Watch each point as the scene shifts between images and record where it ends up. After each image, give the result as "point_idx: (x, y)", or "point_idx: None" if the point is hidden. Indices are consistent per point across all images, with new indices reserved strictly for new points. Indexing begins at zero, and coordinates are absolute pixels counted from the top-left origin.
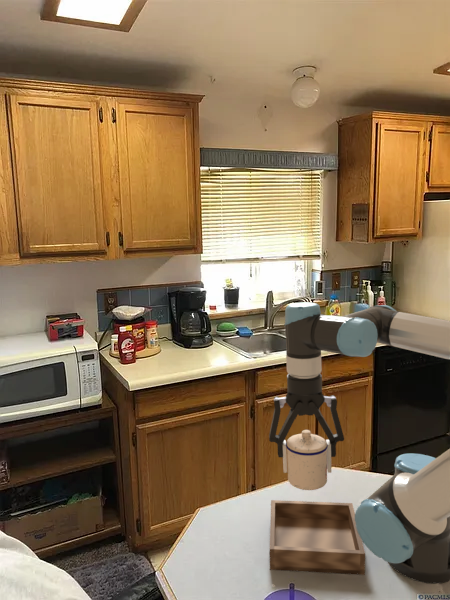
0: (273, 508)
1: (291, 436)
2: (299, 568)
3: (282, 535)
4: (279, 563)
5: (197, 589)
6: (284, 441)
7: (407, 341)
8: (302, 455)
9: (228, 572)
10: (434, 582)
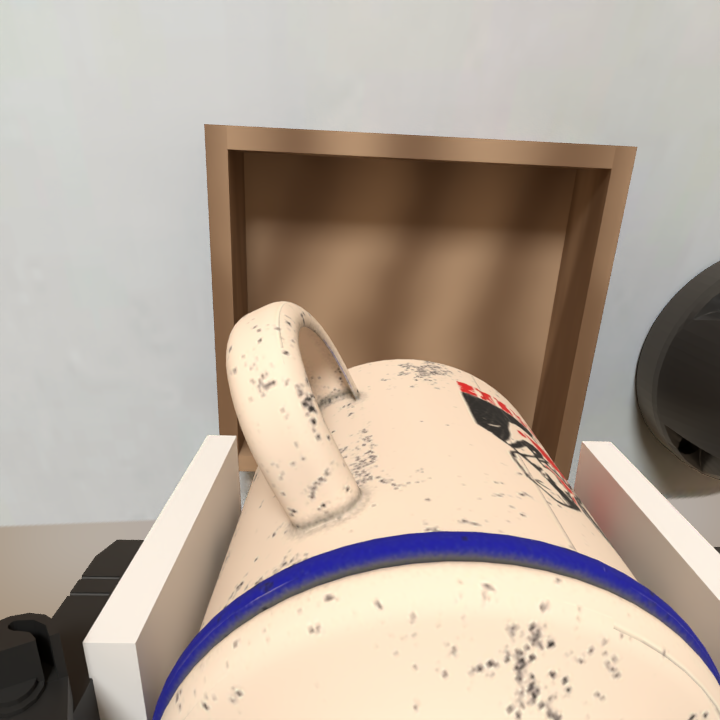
0: (221, 205)
1: (213, 703)
2: None
3: (277, 282)
4: None
5: (25, 509)
6: (121, 681)
7: None
8: None
9: (103, 444)
10: None
